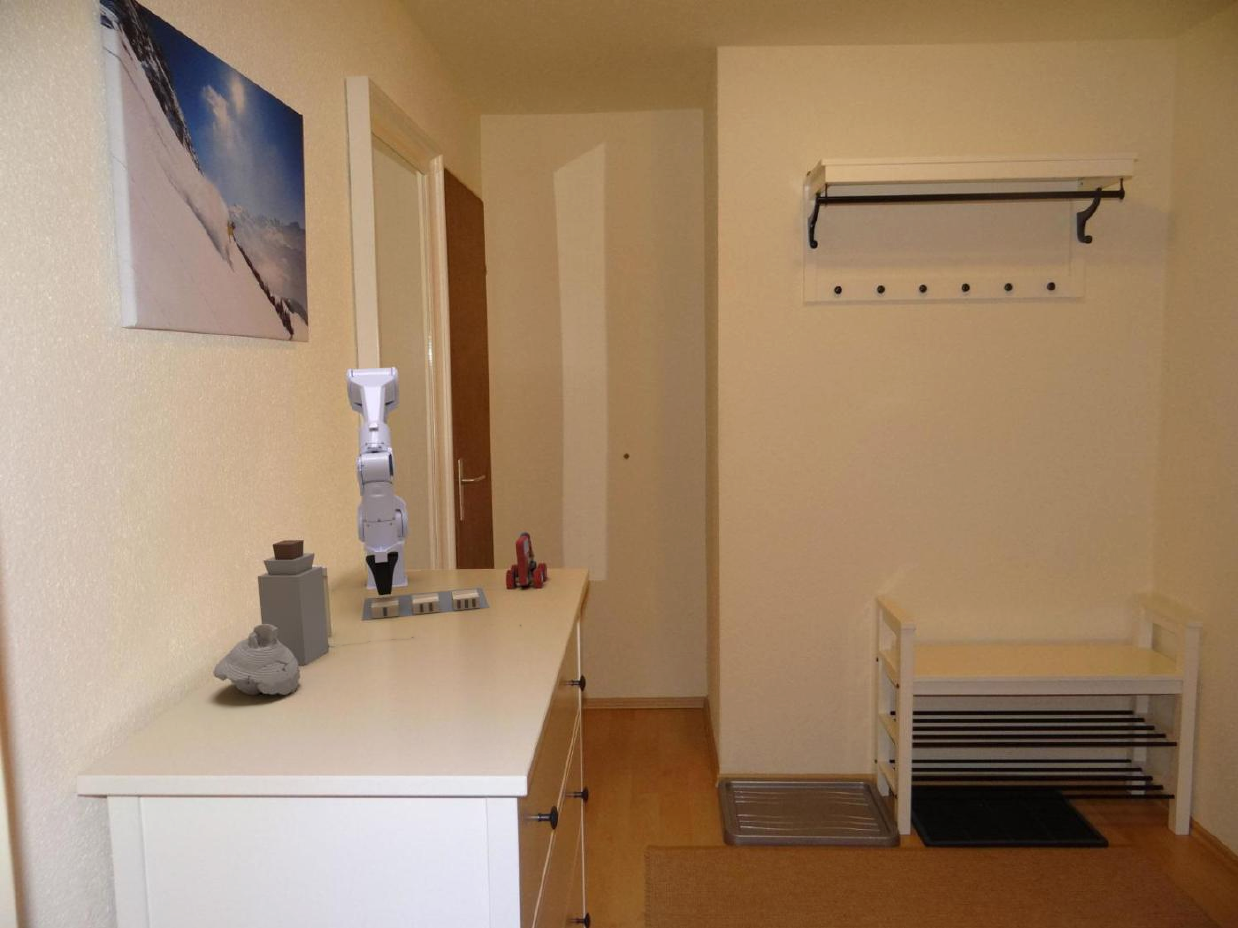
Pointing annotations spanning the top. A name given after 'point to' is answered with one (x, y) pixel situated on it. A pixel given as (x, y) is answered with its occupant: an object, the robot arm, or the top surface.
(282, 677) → the grey clay mound
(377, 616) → the tile one
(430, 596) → the tile two
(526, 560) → the red wheeled toy
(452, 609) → the mat
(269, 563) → the perfume bottle
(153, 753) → the top surface
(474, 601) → the tile three
